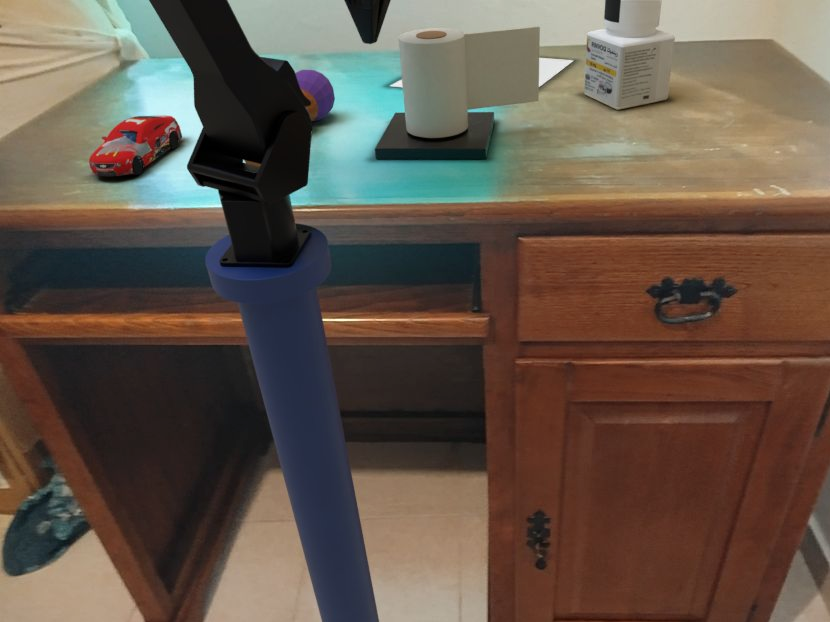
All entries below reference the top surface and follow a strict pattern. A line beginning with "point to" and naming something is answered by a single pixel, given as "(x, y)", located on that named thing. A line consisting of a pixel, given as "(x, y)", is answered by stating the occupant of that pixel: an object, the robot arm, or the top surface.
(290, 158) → the robot arm
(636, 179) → the top surface
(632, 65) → the container
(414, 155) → the holder
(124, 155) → the race car
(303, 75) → the kendama
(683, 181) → the top surface
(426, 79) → the towel roll
